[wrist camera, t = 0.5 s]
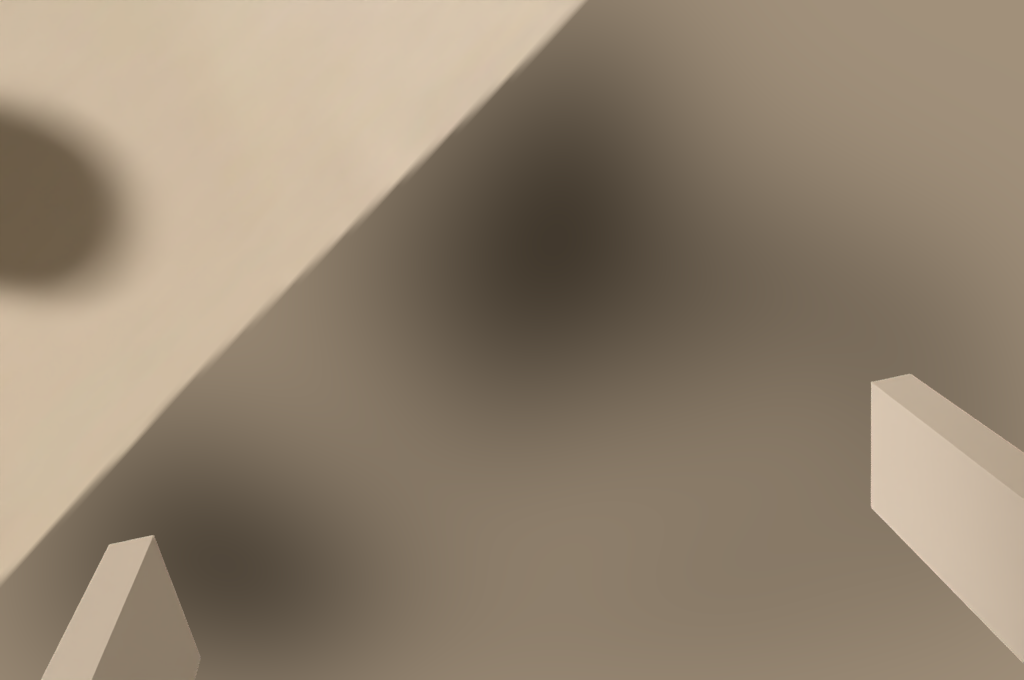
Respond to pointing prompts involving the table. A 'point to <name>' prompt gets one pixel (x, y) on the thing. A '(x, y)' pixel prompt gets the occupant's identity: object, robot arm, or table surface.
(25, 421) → the table surface
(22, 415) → the table surface
